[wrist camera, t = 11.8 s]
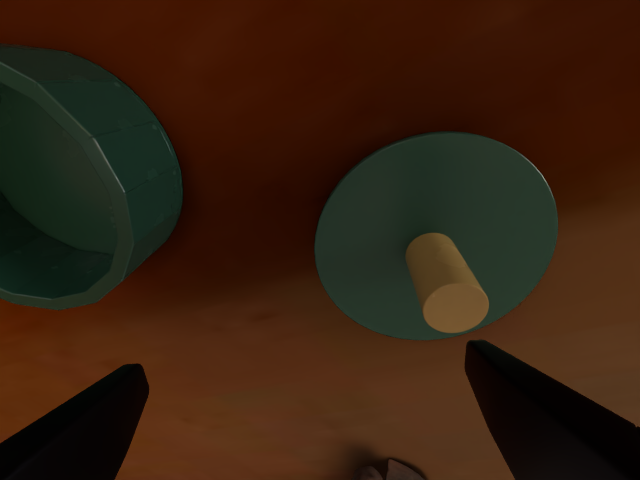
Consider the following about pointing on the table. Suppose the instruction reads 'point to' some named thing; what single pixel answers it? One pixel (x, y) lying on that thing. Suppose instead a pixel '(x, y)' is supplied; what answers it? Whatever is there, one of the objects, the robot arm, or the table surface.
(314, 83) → the table surface
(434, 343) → the table surface
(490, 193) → the pan lid
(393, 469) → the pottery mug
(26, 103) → the pan
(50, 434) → the robot arm
